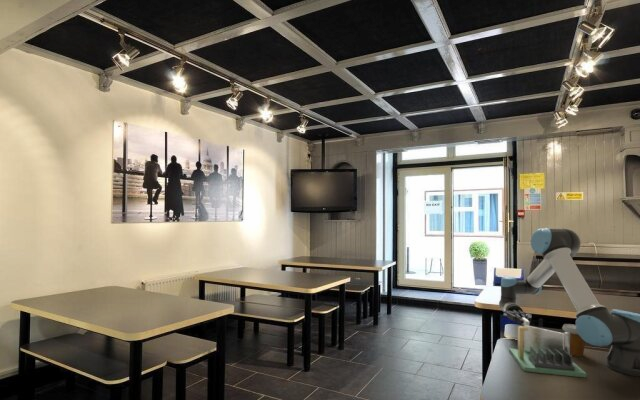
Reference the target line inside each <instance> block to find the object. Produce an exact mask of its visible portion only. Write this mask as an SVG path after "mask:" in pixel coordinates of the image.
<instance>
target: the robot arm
mask: <svg viewBox="0 0 640 400" xmlns="http://www.w3.org/2000/svg"><path fill="white" fill-rule="evenodd" d="M581 245H582V243H581V239H580V237H579V235H578V234H577V233H576V232H575V231H574V230H572V229H568V228H547V227H545V228H538V229H537V230H535V231H533V233H532V235H531V238H530V247H531V249H532V251H533V252H534V253H537V254H539V255H541V256H542V258H543V259H542V261H541V262H540V263H539V264H537V266H536V268H534V269H533V270H532V272H531V273H530V274H529V275H528V277H526V278H525V279H524V280H517V278H516V277H514V276H503V277H501V278H500V279H501V280H500V300H499V301H498V306H499V308H500V309H501V311H502V312H503V317H505V318H508V319H509V320H510V321H513V322H515V323H518V325H523V327H524V326H525V325H528V326H530V324H532V314H533V313H529V312H528V313H526V312H525V311H524V310H523V308H522V307H520V306H519V304H517V296H519V295H520V296H521V295H523V296H524V295H532V296H533V295H539V294H541V292H542V289H543V285H544V284H545V283H546V282H547V281H548V280H549V279H550V277H551V276H553V275H554V273H555V274H556V275H557V277H558V279H559V281H560V283H561V285H562V286H563V288H564V290H565V291H566V293H567V295H568V297H569V299H570V300H571V303H572V304H573V306H574V308H575V309H576V313H575V317H576V320H575V324H574V325H576V330H577V333H578V334H579V336H580V337H581V338H582V339H583V340H584V341H585V343H587V344H589V345H591V346H594V347H596V346H597V347H608V346H611V347H610V349H609V351H608V353H607V357H606V358H605V359H606V360H605V366H607V367H608V368H609V369H610V370H613V371H616V372H619V373H622V374H626V375H629V376H634V377H640V313H636V312H631V311H626V310H621V309H611V310H610V311H609V310H608V308H607V306H605V305H603V304H600V302H599V301H598V299H597V298H596V295H594V292H593V291H592V289H591V288H590V286H589V284H588V283H587V281H586V279H585V277H584V276H583V274H582V273H581V271H580V270H579V268H578V266H577V264H576V263H575V261H574V260H573V258H574V257H575V256H576V255H577V254H578V252H579V251H580V248H581Z"/></svg>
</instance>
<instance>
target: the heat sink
mask: <svg viewBox="0 0 640 400" xmlns="http://www.w3.org/2000/svg"><path fill="white" fill-rule="evenodd" d="M524 331H528V328H527V327H524V325H523V326H520V325H519V326H517V349H518V357H519V358H520V359H524ZM563 333H564V349H562V354H561V353H560V352H559V351H558V350H557V349H554V353H553V352H552V351H551V350H549V349H548V348H546V353H545V352H544V351H543V350H542V349H541V348H540V347H538V352H537V351H536V350H535V349H534V348H533V347H531V346H530V356H529V361H530V362H531V363H532V364H533V365H534V366H535V367H540V368H550V369H560V370H570V371H574V366H573V365H572V361H573V355H570V333H569V332H564V331H563Z"/></svg>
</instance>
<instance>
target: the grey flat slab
mask: <svg viewBox="0 0 640 400" xmlns="http://www.w3.org/2000/svg"><path fill="white" fill-rule="evenodd" d="M523 327H527V328H528V331H524V351H527V352H530V346H531V347H533V348H534V349H535V350H536V351H537V352H538V347H540V348H541V349H542V350H543V351H544V352H545V353H546V348H548V349H549V350H551V351H552V352H553V353H554V349H557V350H558V351H559V352H560V353H561V354H562V349H564V332H559V331H555V330H550V329H547V328H546V329H545V328H540V327H537V326H532V325H529V326H528V325H525V326H524V325H523Z"/></svg>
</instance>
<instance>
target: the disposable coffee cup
mask: <svg viewBox="0 0 640 400" xmlns="http://www.w3.org/2000/svg"><path fill="white" fill-rule="evenodd" d="M561 329H562V330H563V331H562V332H563V333H564V332H569V333H570V354H571V356H574V355H575V357H583V356H584V353H585V346H586V342H585V341H584V340H583V339H582V338H581V337H580V336H579V334H578V333H577V330H576V324H572V323H564V324H563V325H562V327H561Z"/></svg>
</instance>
